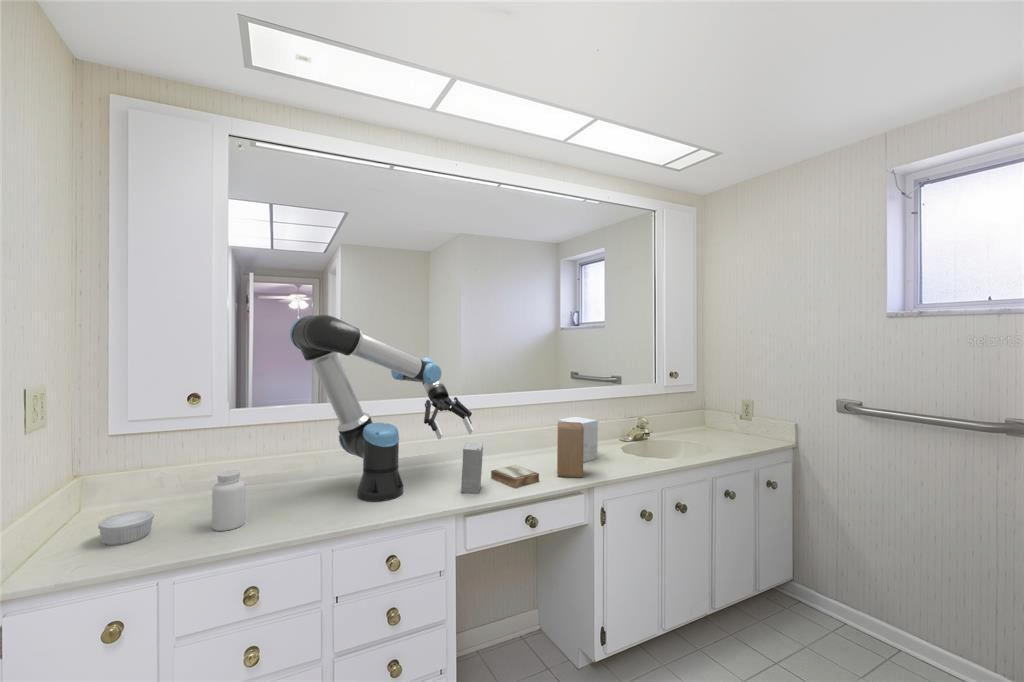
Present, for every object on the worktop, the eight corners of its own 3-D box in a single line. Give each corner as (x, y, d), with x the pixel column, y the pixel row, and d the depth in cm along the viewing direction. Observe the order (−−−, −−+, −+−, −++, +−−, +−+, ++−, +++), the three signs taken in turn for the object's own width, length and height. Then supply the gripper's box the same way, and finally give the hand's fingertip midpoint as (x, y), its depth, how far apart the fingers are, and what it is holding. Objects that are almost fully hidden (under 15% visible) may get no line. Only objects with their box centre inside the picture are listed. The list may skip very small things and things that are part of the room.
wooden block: (581, 470, 180) (582, 422, 180) (583, 478, 170) (583, 426, 170) (557, 469, 181) (557, 421, 181) (557, 477, 171) (557, 426, 171)
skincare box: (463, 485, 160) (464, 442, 160) (483, 485, 160) (483, 442, 160) (460, 493, 152) (460, 448, 152) (480, 494, 152) (481, 448, 152)
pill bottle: (208, 533, 119) (209, 478, 119) (215, 522, 127) (215, 470, 127) (242, 529, 122) (243, 475, 122) (247, 518, 130) (247, 467, 130)
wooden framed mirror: (514, 488, 158) (514, 478, 158) (491, 478, 169) (491, 469, 169) (538, 481, 166) (538, 472, 166) (515, 472, 177) (515, 464, 177)
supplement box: (575, 453, 208) (575, 416, 208) (598, 458, 199) (598, 420, 199) (556, 457, 199) (556, 419, 199) (579, 464, 190) (579, 423, 190)
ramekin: (132, 547, 112) (132, 526, 112) (85, 548, 111) (85, 527, 111) (164, 528, 123) (164, 509, 123) (121, 529, 122) (121, 510, 122)
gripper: (459, 394, 186) (479, 436, 174) (404, 399, 170) (423, 445, 158) (466, 382, 182) (487, 424, 170) (410, 386, 166) (430, 433, 154)
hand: (456, 434), depth 164 cm, fingers open, 13 cm apart
